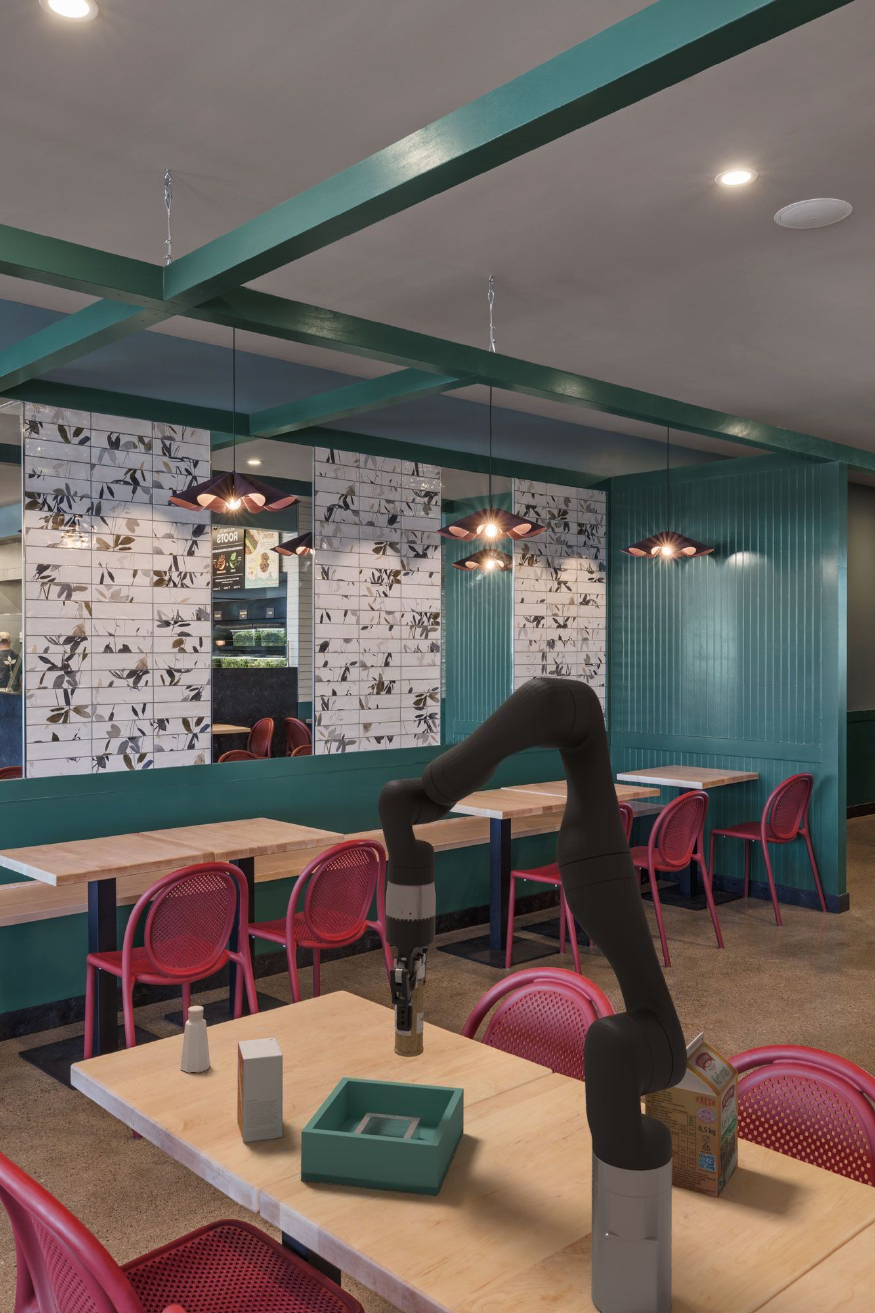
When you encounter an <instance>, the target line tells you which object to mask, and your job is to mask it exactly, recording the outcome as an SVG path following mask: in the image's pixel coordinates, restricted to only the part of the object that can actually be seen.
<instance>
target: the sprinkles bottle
mask: <svg viewBox="0 0 875 1313" xmlns="http://www.w3.org/2000/svg"><path fill="white" fill-rule="evenodd" d="M413 974H414V971H413ZM424 976H425V965H424V963H421V968H420V969H419V970H418V987H417V989H416V990H414V996H413V1011H412V1029H411V1030H410V1031H400V1030H398V1029H397V1005H394V1048H393V1052H394V1054H396V1055H397V1056H400V1057H404V1058H413V1057H414V1058H415V1057H417V1056H420V1055H422V1054H424V1050H425V1048H424V986H423V979H424ZM412 982H413V978H412V979H411V981H409V984H411V983H412ZM401 997H405V996H404V993H402V992H401Z"/></svg>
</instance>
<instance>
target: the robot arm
mask: <svg viewBox="0 0 875 1313" xmlns="http://www.w3.org/2000/svg"><path fill="white" fill-rule="evenodd" d="M537 747H538V748H540V749H558V752H559V755H560V758H561V761H562V764H563V771H564V775H565V780H566V801H565V802H566V803H565V808H564V812H563V816H562V818H561V819H562V820H561V823H560V828H559V831H558V836H557V842H556V862H557V866H558V870H559V871H558V872H559V876H560V880H561V885H562V889H563V893H564V897H565V898H564V899H565V901H566V905H567V906H568V910H569V911H570V913H571V915H572V916H573V918H574V920H575V921H576V922H577V924H578V925H579V927H580V928H581V929H582V930H583V932H584V933H585V935H587V936H588V937H589V940H591V941H592V943H594V945H595V946H596V947H597V948H598V950H599V951H600V952H601V953H602V955H603V956H604V957H605V959H606V960H607V962H608V963H609V965H610V967H611V969H612V971H613V972H614V974H615V977H616V979H617V982H618V985H619V988H620V989H619V990H620V991H621V994H622V995H621V996H622V998H623V999H622V1000H623V1003H624V1006H625V1007H624V1008H625V1011H623V1012H620V1013H615V1014H609V1015H605V1016H603V1017H599V1018H597V1019H595V1020H594V1021H593V1022H591V1024H590V1025H589V1027H588V1029H587V1031H586V1034H585V1038H584V1044H583V1071H584V1072H583V1073H584V1090H585V1112H586V1114H585V1115H586V1120H587V1124H588V1129H589V1132H590V1136H591V1251H590V1252H591V1254H590V1256H591V1258H590V1259H591V1260H590V1261H591V1278H590V1279H591V1283H590V1286H591V1288H590V1289H591V1293H590V1294H591V1300H592V1303H593V1305H594V1306H595V1307H596V1308H597V1310H598V1311H599V1312H600V1313H670V1312H671V1309H672V1302H673V1301H672V1299H673V1298H672V1295H673V1294H672V1293H673V1290H672V1289H673V1287H672V1285H673V1284H672V1283H673V1282H672V1281H673V1268H672V1267H673V1265H672V1264H673V1260H672V1259H673V1257H672V1254H673V1251H672V1249H673V1248H672V1246H673V1245H672V1244H673V1242H672V1240H673V1219H672V1218H673V1186H672V1136H671V1133H670V1130H669V1129H668V1127H667V1126H666V1125H665V1124H664V1123H662V1122H661V1121H659V1120H657V1119H656V1118H653V1117H651V1116H649V1115H646V1114H645V1113H642V1103H641V1102H642V1100H641V1099H642V1098H641V1097H643V1096H645V1095H647V1094H651V1093H654V1092H658V1091H661V1090H665V1089H668V1088H671V1087H674V1086H676V1085H677V1084H679V1083H680V1082H681V1081H682V1079H683V1078H684V1076H685V1073H686V1069H687V1050H686V1046H687V1044H686V1039H685V1035H684V1032H683V1028H682V1025H681V1022H680V1018H679V1016H678V1014H677V1010H676V1007H675V1004H674V1002H673V999H672V996H671V993H670V989H669V986H668V984H667V981H666V978H665V976H664V972H663V970H662V968H661V964H660V961H659V958H658V954H657V952H656V948H655V944H654V940H653V936H652V933H651V930H650V925H649V921H648V918H647V915H646V910H645V907H644V902H643V898H642V894H641V889H640V885H639V879H638V875H637V871H636V867H635V863H634V859H633V855H632V850H631V848H630V845H629V841H628V838H627V834H626V831H625V830H626V829H625V827H624V822H623V817H622V813H621V808H620V803H619V800H618V799H619V798H618V795H617V791H616V785H615V783H614V782H615V781H614V776H613V771H612V770H613V769H612V764H611V758H610V757H611V756H610V749H609V744H608V736H607V728H606V722H605V716H604V713H603V708H602V705H601V701H600V698H599V696H598V694H597V693H596V691H595V690H594V688H592V687H591V685H589V683H586V682H584V681H581V680H579V679H578V680H577V679H572V678H571V679H570V678H569V679H568V678H561V677H560V678H559V677H557V678H556V677H550V676H549V677H545V676H544V677H543V676H542V677H541V676H540V677H534V678H531V679H530V680H527V681H526V682H524V683H523V684H522V685H521V686H519V687H518V688H517V689H516V690H515V691H514V692H512V693H511V694H510V695H509V697H507V698H506V699H505V700H504V702H502V704H501V705H500V706H499V707H498V708H497V709H496V710H495V711H494V712H493V713H492V714H491V715H490V716H489V717H487V719H485V720H484V721H483V722H482V723H481V724H480V725H479V726H478V727H477V728H476V729H475V730H474V731H473V732H472V733H470V734H469V735H468V736H467V737H465V738H464V739H463V740H461V741H460V742H459V743H457V744H455V745H454V746H452V747H451V748H449V749H448V750H446V751H444V752H443V753H442V754H441V755H438V756H437V757H435V758H434V759H433V760H432V761H430V762H429V763H428V764H427V765H426V766H425V767H424V770H423V771H422V775H421V776H420V777H412V778H402V779H393V780H390V781H388V782H387V783H386V784H384V786H383V787H382V789H381V790H380V793H379V795H378V799H377V800H378V801H377V811H378V818H379V821H380V826H381V830H382V833H383V837H384V842H385V846H386V851H387V855H388V859H387V887H386V895H385V923H384V924H385V928H384V929H385V930H384V931H385V934H384V937H385V938H384V939H385V942H386V943H387V944H388V945H390V946H394V947H395V948H396V949H397V952H396V953H397V954H396V955H394V959H393V967H390V970H389V978H390V993H391V1004H392V1005H393V1006H395V1005H397V1029H398V1030H400V1031H410V1030H411V1029H412V1011H413V996H414V990H416V989H417V987H418V970H419V969H420V968H421V963H424V965H425V976H424V979H423V987H425V985H426V983H427V982H426V979H427V977H426V976H427V966H428V964H427V963H428V955H429V954H428V952H429V946H431V945H432V944H433V943H434V942H435V941H436V909H437V908H436V904H437V903H436V902H437V900H436V899H437V898H436V897H437V896H436V889H435V887H436V886H435V861H436V860H435V858H436V857H435V847H434V846H433V845H432V843H430V842H428V841H426V840H423V839H416V836H415V832H414V829H413V826H417V825H419V826H420V825H424V824H431V823H435V822H436V821H439V820H440V819H443V817H445V816H446V815H447V814H449V813H450V812H451V810H452V809H453V808H454V807H455V806H456V805H457V803H458V802H460V801H462V800H464V799H465V798H467V797H469V796H470V795H472V794H473V793H475V792H477V791H478V790H480V789H482V788H483V787H484V786H485V785H486V784H487V783H489V782H490V781H491V780H492V779H493V777H494V776H495V774H496V772H497V770H498V769H499V766H500V764H501V763H502V762H503V761H504V760H506V759H507V758H509V757H510V756H513V755H515V754H518V753H520V752H523V751H526V750H530V749H532V748H533V749H534V748H537ZM413 971H414V974H413ZM412 978H413V982H412V983H411V984H409V981H411V979H412ZM401 992H402V993H404V996H405V997H401Z"/></svg>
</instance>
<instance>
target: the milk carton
mask: <svg viewBox="0 0 875 1313" xmlns="http://www.w3.org/2000/svg"><path fill="white" fill-rule="evenodd" d="M704 1034H705V1033H704V1032H703V1031H702V1032H700V1033H699V1034H698V1035H697V1036H696V1037H695V1038H694V1039H693V1040H692V1041H691V1042H690V1043H689V1044H688V1045H686V1050H687V1069H686V1073H685V1076H684V1078H683V1079H682V1081H681V1082H680V1083H679V1084H677V1085H676V1086H674V1087H671V1088H668V1089H665V1090H661V1091H658V1092H654V1093H651V1094H647V1095H644V1101H645V1102H644V1108H645V1109H644V1114H646V1115H649V1116H651V1117H653V1118H656V1119H657V1120H659V1121H661V1122H662V1123H664V1124H665V1125H666V1126H667V1127H668V1129H669V1130H670V1133H671V1136H672V1187H676V1188H679V1189H683V1190H686V1191H690V1192H694V1193H697V1194H701V1195H705V1196H709V1197H712V1198H716V1199H719V1197H720V1195H722V1194H721V1193H722V1192H723V1191H724V1189H725V1187H726V1186H727V1184H728V1183H729V1181H730V1180H731V1178H732V1177H733V1175H734V1173H736V1172H735V1171H737V1168H739V1167H738V1166H739V1164H738V1163H739V1162H738V1161H739V1153H738V1152H739V1145H738V1144H739V1071H738V1070H737V1069H736V1067H735V1066H734V1065H733V1064H732V1063H731V1062H730V1061H729V1060H728V1059H727V1058H726V1057H724V1055H722V1054H721V1053H720V1052H719V1051H718V1050H716V1049H715V1048H714V1047H712V1046H711V1045H710V1044H708V1043H707V1042H706V1041H705V1035H704Z"/></svg>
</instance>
